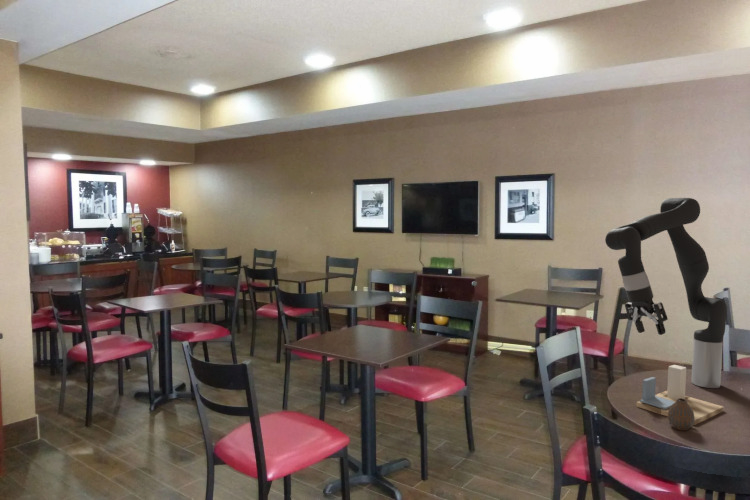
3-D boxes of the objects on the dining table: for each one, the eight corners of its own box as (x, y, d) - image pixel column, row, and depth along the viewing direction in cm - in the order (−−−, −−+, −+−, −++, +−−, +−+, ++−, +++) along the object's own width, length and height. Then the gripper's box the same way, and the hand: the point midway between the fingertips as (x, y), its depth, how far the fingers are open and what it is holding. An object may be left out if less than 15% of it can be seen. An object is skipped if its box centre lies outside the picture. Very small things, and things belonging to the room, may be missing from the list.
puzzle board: (666, 396, 182) (666, 390, 182) (723, 412, 167) (723, 406, 167) (636, 407, 170) (636, 401, 170) (694, 426, 156) (694, 420, 156)
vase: (690, 425, 157) (692, 397, 156) (696, 434, 150) (698, 405, 150) (665, 421, 159) (666, 394, 159) (670, 430, 153) (671, 402, 152)
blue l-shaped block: (652, 396, 174) (653, 376, 174) (677, 404, 168) (678, 382, 167) (640, 401, 170) (641, 380, 169) (665, 409, 163) (666, 387, 163)
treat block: (672, 398, 178) (674, 364, 177) (684, 401, 175) (686, 367, 174) (666, 400, 176) (668, 366, 175) (679, 404, 173) (680, 369, 172)
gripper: (663, 282, 163) (678, 330, 163) (629, 283, 176) (643, 327, 176) (645, 289, 161) (660, 338, 161) (612, 289, 174) (626, 335, 174)
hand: (651, 333), depth 169 cm, fingers open, 8 cm apart
